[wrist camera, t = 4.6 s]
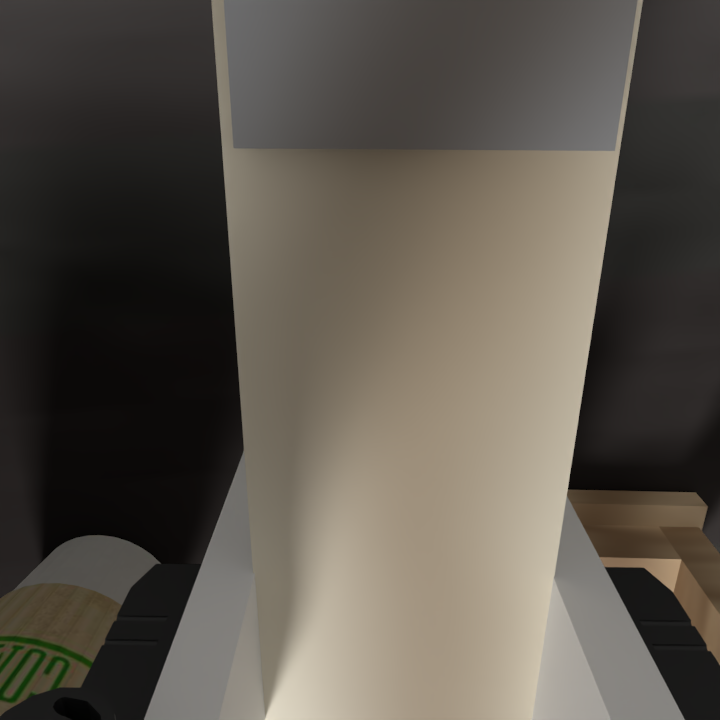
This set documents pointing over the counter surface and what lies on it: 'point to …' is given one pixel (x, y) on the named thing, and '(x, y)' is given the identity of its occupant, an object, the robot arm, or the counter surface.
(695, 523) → the wooden stand
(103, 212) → the counter surface
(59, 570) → the coffee cup
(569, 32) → the rail
